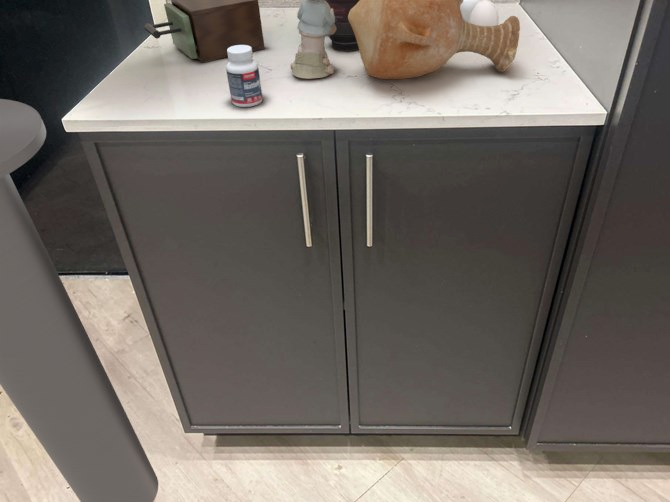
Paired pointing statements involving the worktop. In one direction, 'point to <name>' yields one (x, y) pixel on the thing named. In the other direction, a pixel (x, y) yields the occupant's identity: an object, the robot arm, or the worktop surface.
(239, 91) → the pill bottle
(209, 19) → the cabinet
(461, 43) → the jug
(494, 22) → the egg
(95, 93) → the worktop surface
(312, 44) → the figurine
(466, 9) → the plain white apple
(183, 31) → the drawer
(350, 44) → the camera lens
